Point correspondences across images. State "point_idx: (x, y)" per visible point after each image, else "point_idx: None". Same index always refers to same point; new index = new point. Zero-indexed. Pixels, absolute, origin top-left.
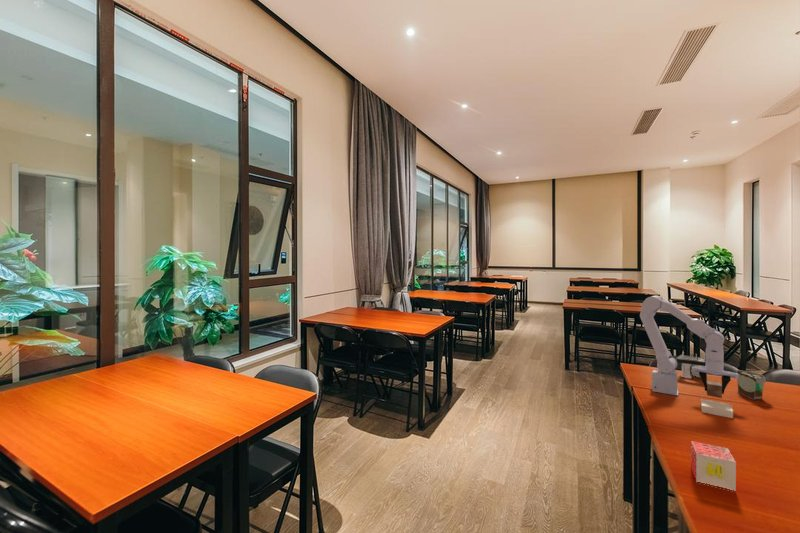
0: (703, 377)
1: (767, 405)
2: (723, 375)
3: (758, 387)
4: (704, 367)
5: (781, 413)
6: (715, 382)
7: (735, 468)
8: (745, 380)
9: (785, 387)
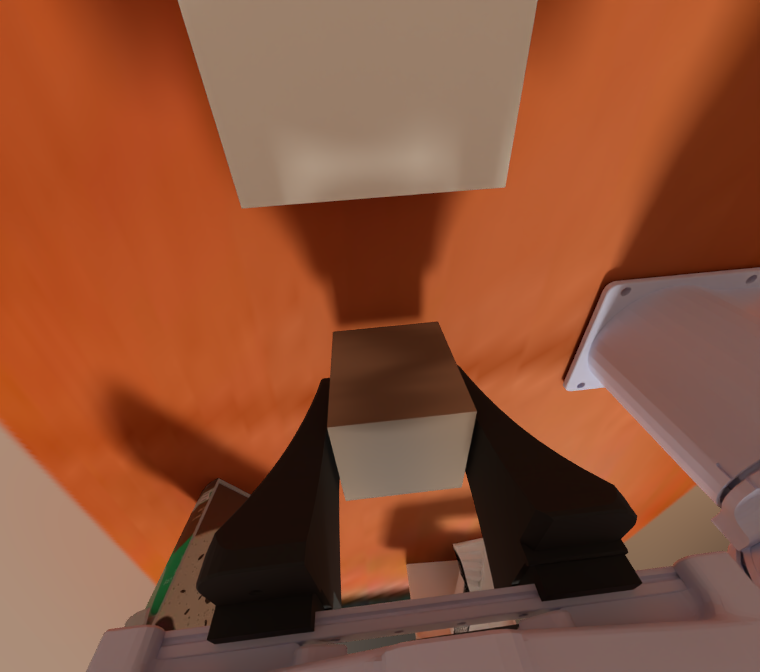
0: (564, 482)
1: (147, 453)
2: (306, 631)
3: (168, 570)
4: None
5: (24, 380)
6: (390, 491)
7: None
8: None
9: None
